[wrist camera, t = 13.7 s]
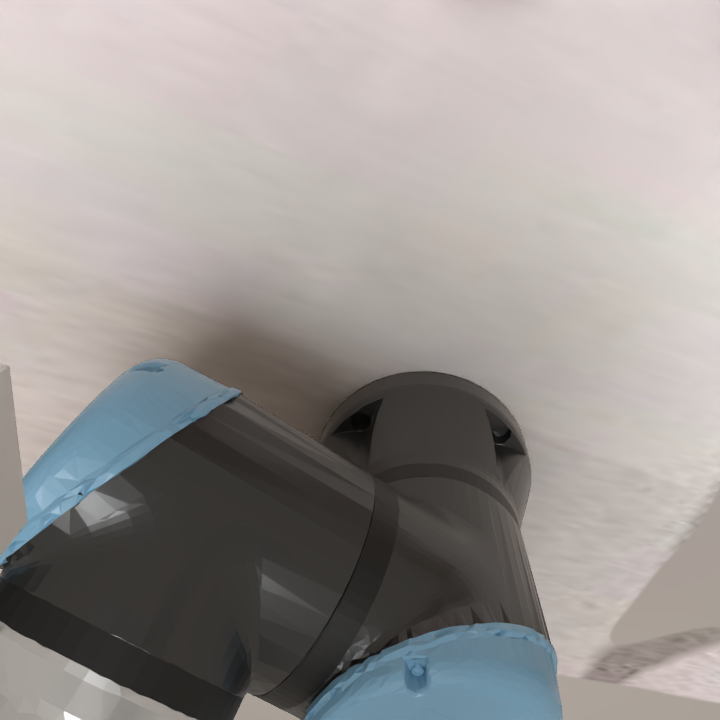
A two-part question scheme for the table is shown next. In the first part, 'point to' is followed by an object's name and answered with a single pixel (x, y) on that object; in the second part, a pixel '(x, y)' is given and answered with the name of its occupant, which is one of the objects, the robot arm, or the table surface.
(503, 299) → the table surface
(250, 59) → the table surface
